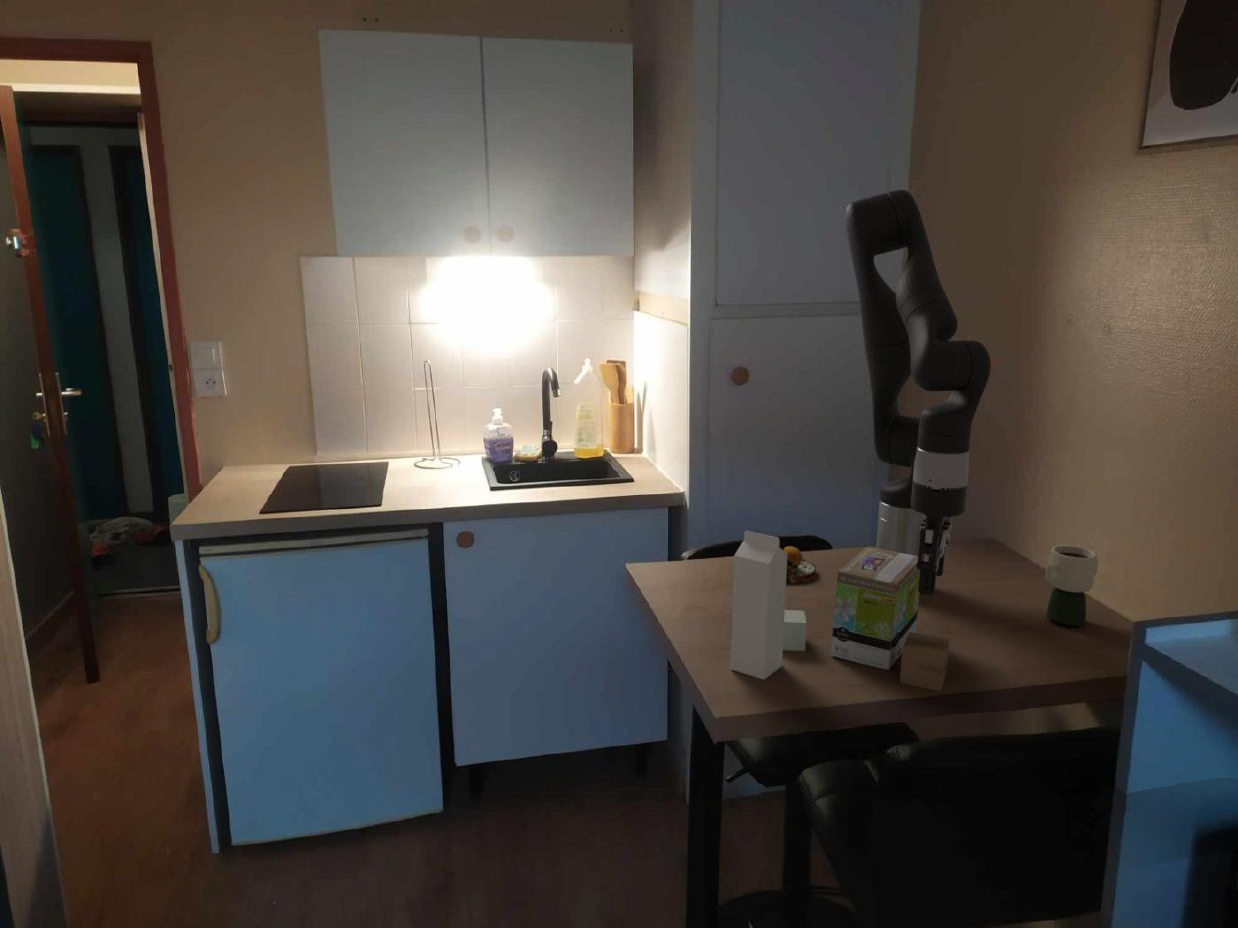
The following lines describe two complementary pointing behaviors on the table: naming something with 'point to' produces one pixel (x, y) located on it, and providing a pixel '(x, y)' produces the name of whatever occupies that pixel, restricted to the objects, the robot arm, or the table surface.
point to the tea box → (875, 607)
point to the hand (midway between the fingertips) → (930, 584)
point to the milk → (758, 605)
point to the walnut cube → (924, 661)
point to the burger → (798, 567)
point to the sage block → (794, 630)
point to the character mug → (1070, 583)
